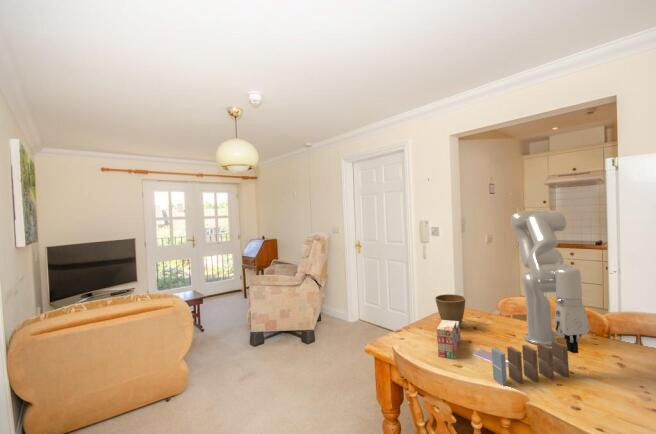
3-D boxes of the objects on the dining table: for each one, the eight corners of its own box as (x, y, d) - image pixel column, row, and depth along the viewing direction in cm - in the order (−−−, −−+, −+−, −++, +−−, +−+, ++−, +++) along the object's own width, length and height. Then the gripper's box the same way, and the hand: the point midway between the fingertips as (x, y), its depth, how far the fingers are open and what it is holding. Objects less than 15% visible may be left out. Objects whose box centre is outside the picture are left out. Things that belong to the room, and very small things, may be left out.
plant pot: (445, 321, 178) (443, 292, 178) (472, 327, 167) (470, 296, 167) (431, 328, 168) (429, 298, 168) (459, 335, 157) (457, 303, 157)
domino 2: (513, 376, 116) (511, 346, 116) (523, 383, 111) (521, 352, 111) (508, 377, 116) (507, 346, 116) (518, 384, 111) (516, 352, 111)
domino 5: (557, 370, 118) (555, 341, 118) (569, 377, 113) (567, 346, 113) (553, 371, 118) (551, 341, 118) (565, 377, 113) (563, 346, 113)
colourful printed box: (447, 339, 154) (445, 313, 154) (461, 340, 151) (459, 314, 151) (438, 357, 135) (436, 328, 135) (453, 359, 132) (452, 330, 132)
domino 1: (497, 378, 115) (495, 348, 115) (507, 385, 110) (505, 354, 110) (493, 379, 115) (491, 348, 115) (502, 386, 110) (500, 354, 110)
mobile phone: (481, 348, 140) (516, 360, 127) (481, 350, 140) (516, 362, 127) (470, 353, 136) (505, 366, 123) (470, 355, 136) (505, 368, 123)
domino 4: (542, 372, 117) (541, 342, 117) (554, 379, 112) (552, 348, 113) (538, 373, 117) (537, 343, 117) (549, 379, 112) (548, 348, 112)
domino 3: (528, 374, 117) (526, 344, 117) (538, 381, 112) (536, 350, 112) (524, 375, 117) (522, 345, 117) (534, 382, 112) (532, 350, 112)
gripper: (559, 306, 112) (563, 358, 112) (597, 302, 114) (600, 353, 113) (542, 301, 119) (545, 349, 119) (578, 297, 121) (581, 345, 121)
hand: (572, 351), depth 116 cm, fingers closed
